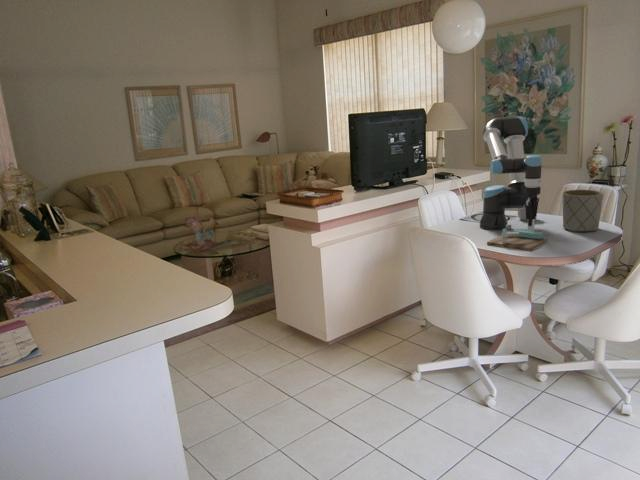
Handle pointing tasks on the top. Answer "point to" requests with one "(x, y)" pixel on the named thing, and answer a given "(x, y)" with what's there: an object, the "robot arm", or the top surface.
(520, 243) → the pivot board
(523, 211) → the teacup
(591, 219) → the planter
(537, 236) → the latch bar
